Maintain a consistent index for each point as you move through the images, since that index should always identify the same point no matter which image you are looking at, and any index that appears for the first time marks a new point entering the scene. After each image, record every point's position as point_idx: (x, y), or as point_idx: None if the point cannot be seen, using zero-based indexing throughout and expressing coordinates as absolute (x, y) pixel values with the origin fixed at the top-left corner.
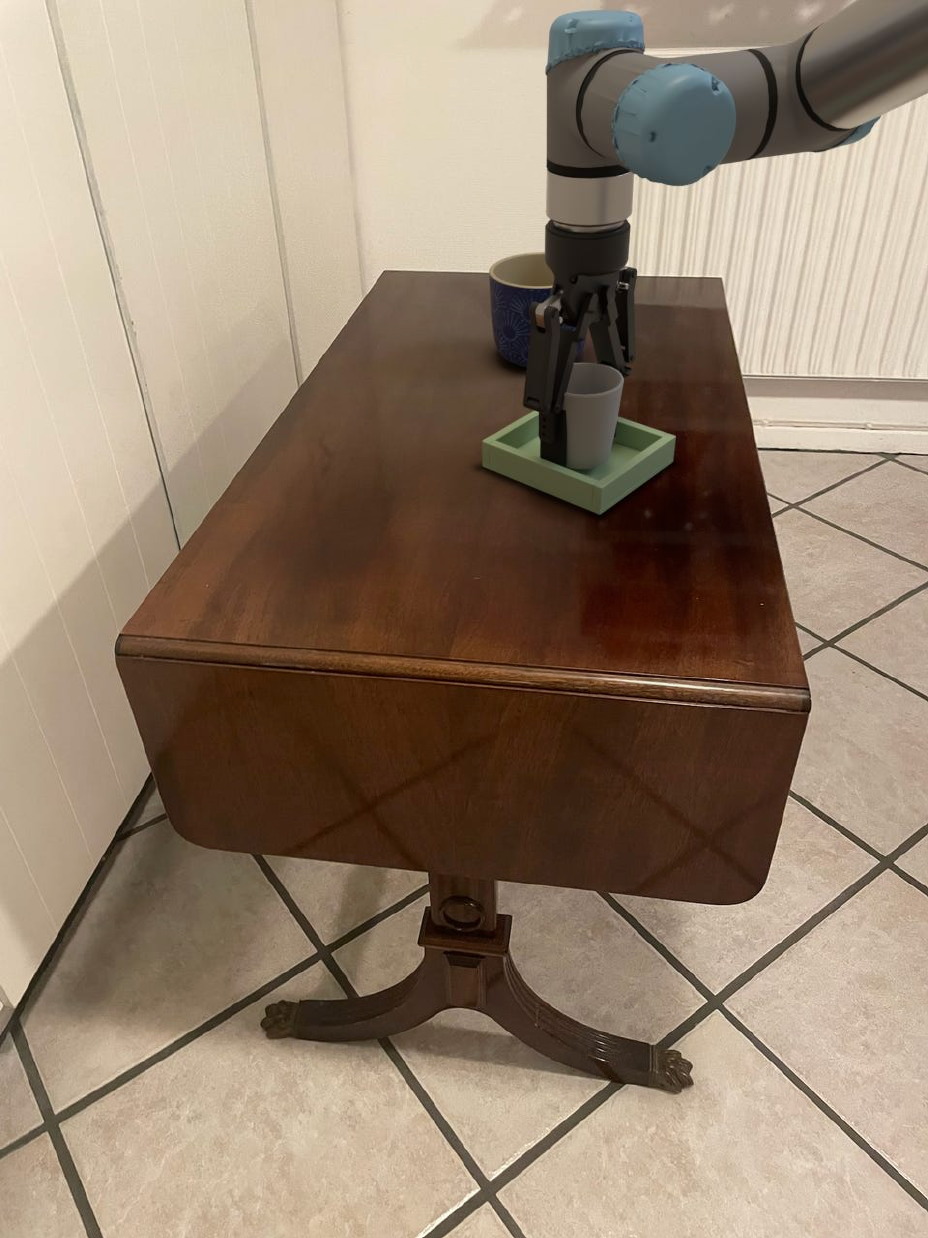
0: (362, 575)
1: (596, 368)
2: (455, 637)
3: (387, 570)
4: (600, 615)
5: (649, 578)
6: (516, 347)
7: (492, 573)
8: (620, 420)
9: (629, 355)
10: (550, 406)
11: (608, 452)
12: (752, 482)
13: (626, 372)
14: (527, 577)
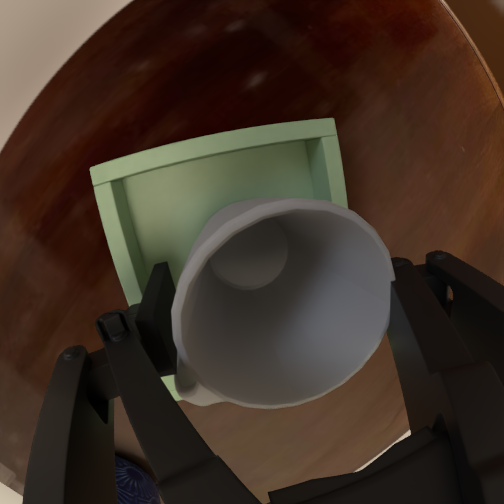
0: (496, 225)
1: (201, 365)
2: (492, 111)
3: (488, 217)
4: (417, 26)
5: (352, 10)
6: (150, 489)
7: (453, 142)
8: (132, 282)
9: (81, 359)
10: (429, 259)
11: (232, 203)
12: (71, 57)
13: (114, 320)
14: (438, 110)
